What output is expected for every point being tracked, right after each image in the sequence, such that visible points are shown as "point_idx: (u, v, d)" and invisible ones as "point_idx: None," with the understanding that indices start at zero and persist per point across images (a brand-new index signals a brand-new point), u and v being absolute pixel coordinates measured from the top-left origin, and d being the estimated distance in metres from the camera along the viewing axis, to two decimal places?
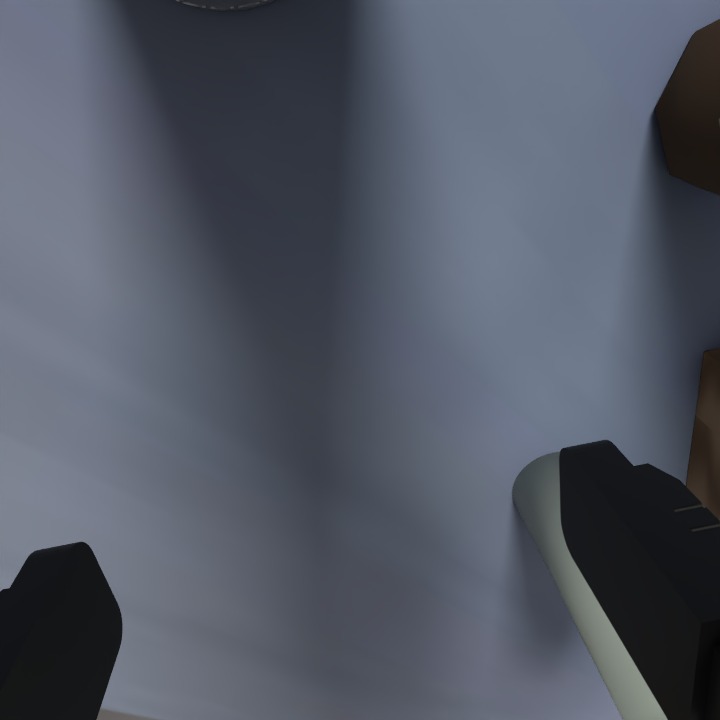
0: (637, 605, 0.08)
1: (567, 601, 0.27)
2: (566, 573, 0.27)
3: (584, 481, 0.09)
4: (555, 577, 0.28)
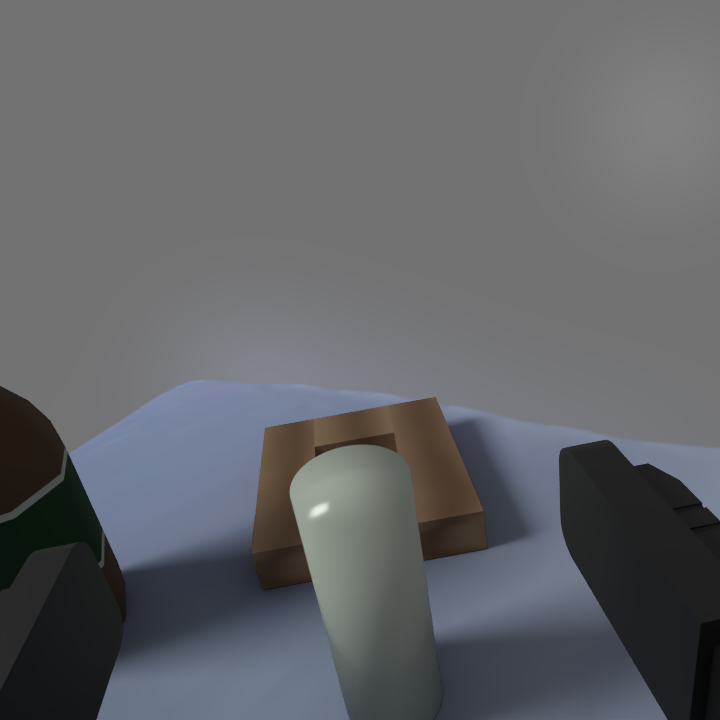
0: (637, 605, 0.08)
1: (374, 629, 0.23)
2: (352, 640, 0.24)
3: (584, 481, 0.09)
4: (378, 652, 0.24)
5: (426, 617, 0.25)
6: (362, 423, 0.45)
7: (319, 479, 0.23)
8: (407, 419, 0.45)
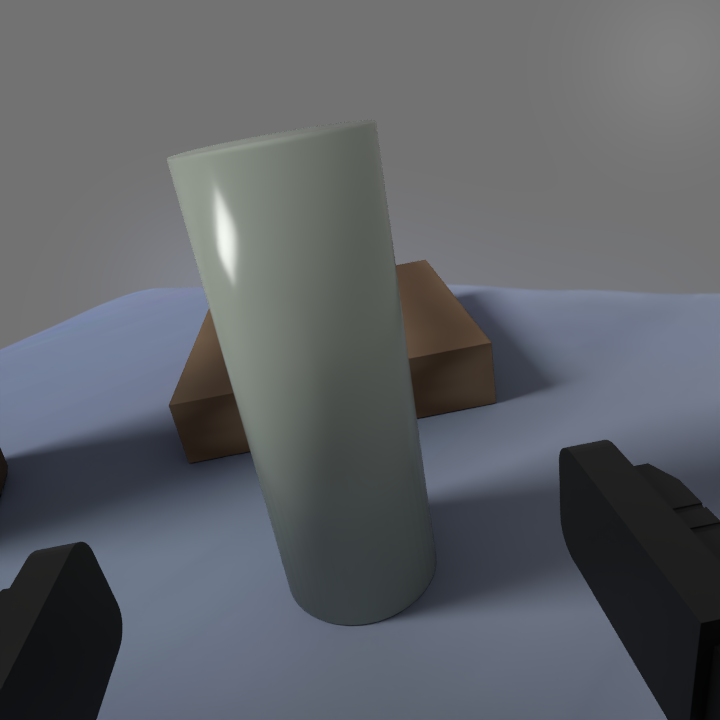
0: (637, 605, 0.08)
1: (316, 398, 0.14)
2: (282, 426, 0.14)
3: (584, 481, 0.09)
4: (326, 447, 0.14)
5: (407, 405, 0.15)
6: None
7: (222, 146, 0.14)
8: None
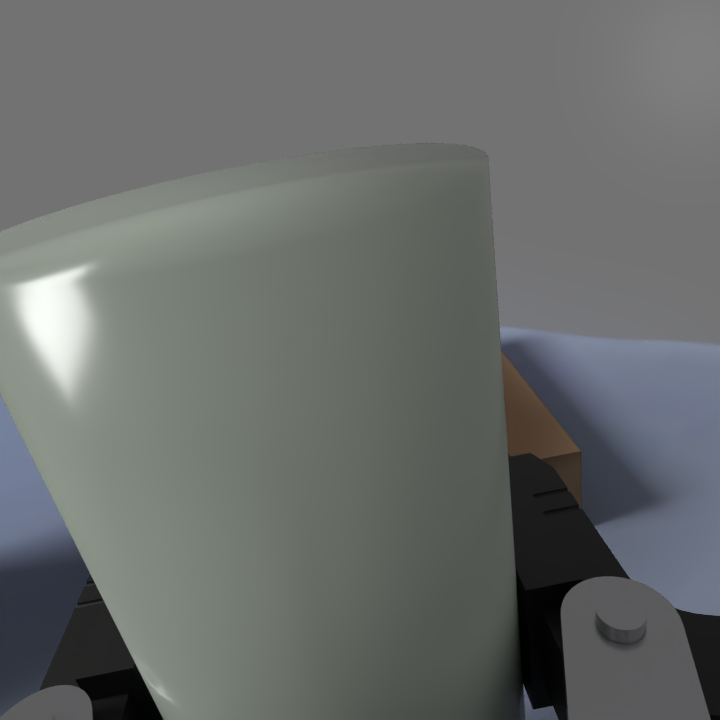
0: None
1: None
2: None
3: None
4: None
5: None
6: None
7: (114, 209, 0.06)
8: None
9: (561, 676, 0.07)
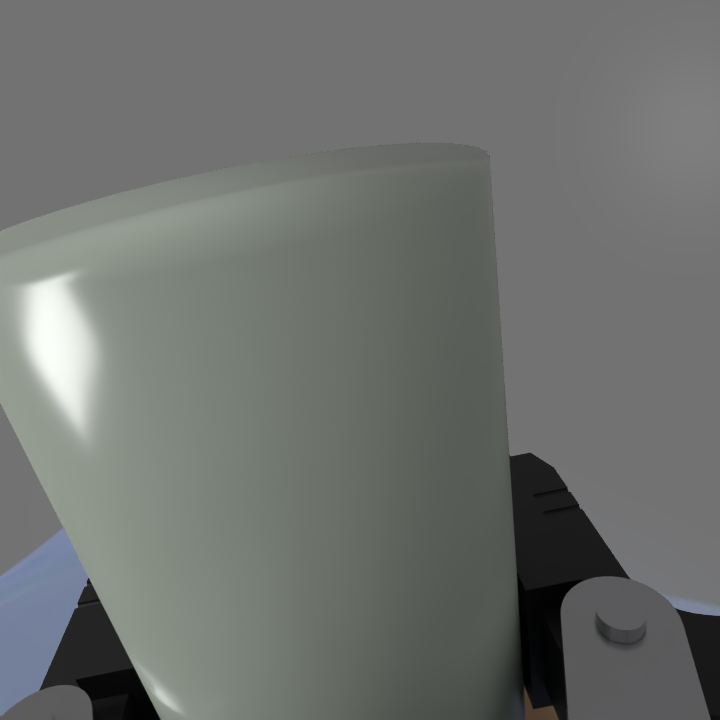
0: None
1: None
2: None
3: None
4: None
5: None
6: None
7: (113, 210, 0.06)
8: None
9: (561, 676, 0.07)
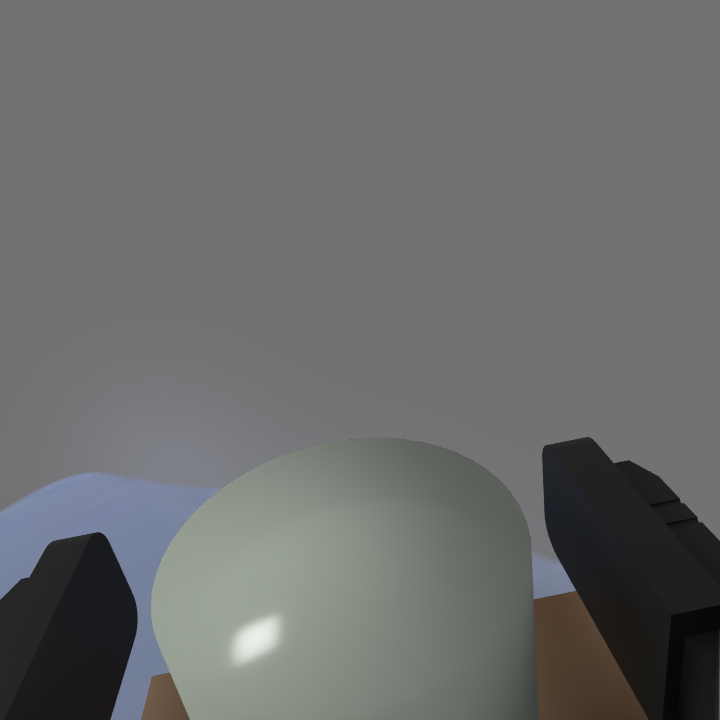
0: (614, 598, 0.08)
1: None
2: None
3: (565, 477, 0.09)
4: None
5: None
6: None
7: (250, 535, 0.08)
8: (537, 677, 0.16)
9: (713, 709, 0.06)
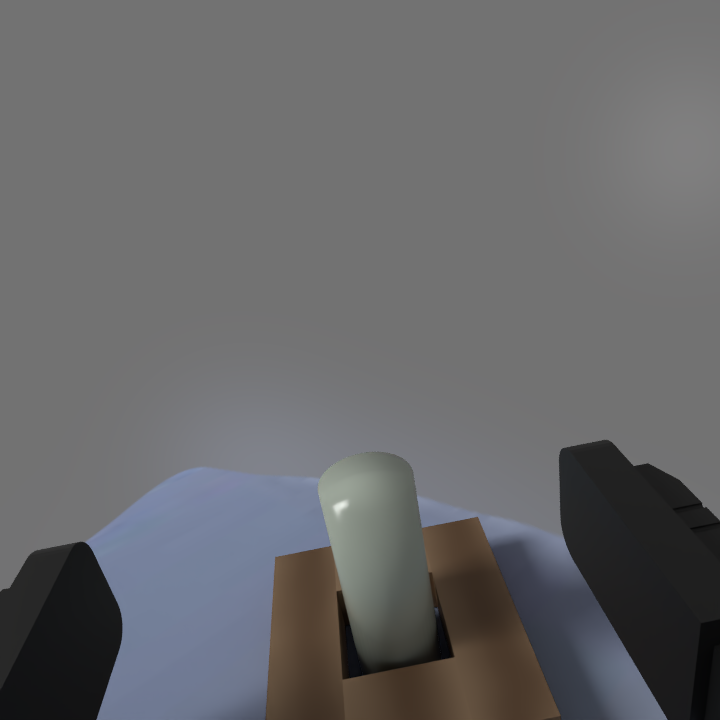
0: (637, 605, 0.08)
1: (385, 599, 0.29)
2: (367, 609, 0.30)
3: (584, 481, 0.09)
4: (388, 618, 0.30)
5: (427, 591, 0.31)
6: None
7: (341, 479, 0.29)
8: (446, 551, 0.37)
9: None
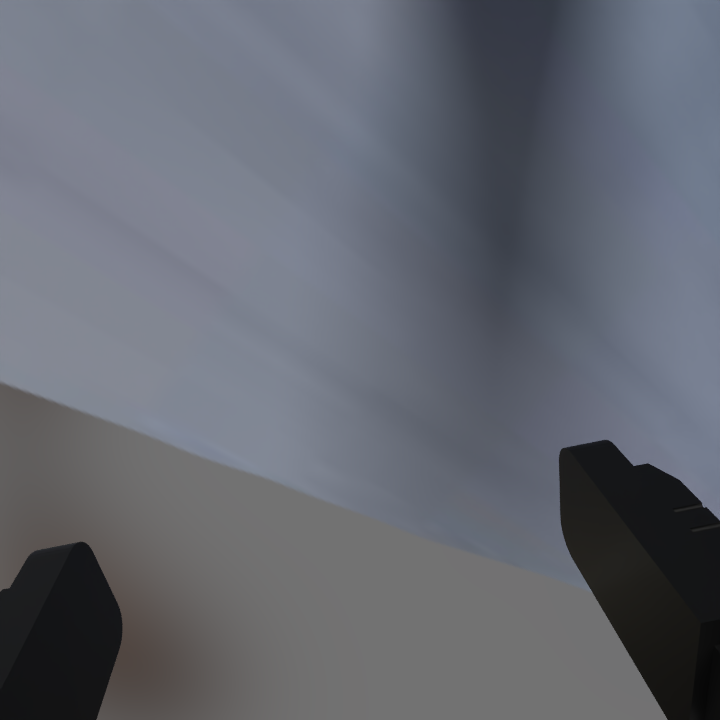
0: (637, 604, 0.08)
1: None
2: None
3: (584, 481, 0.09)
4: None
5: None
6: None
7: None
8: None
9: None
